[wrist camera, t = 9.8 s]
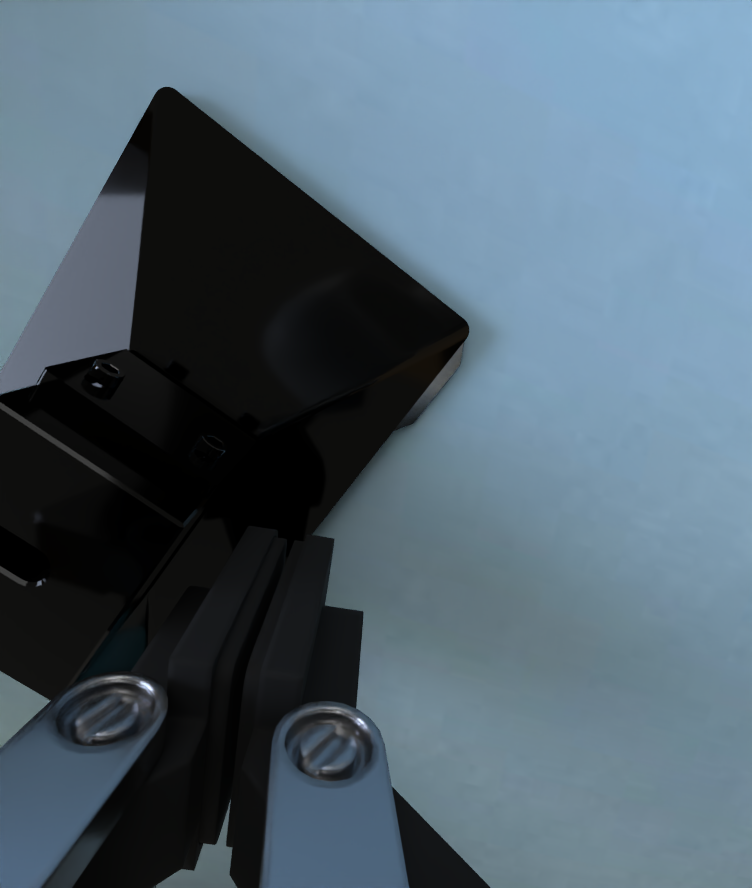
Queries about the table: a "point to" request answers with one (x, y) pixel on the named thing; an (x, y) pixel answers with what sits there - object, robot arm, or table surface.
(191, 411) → the build plate
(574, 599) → the table surface
